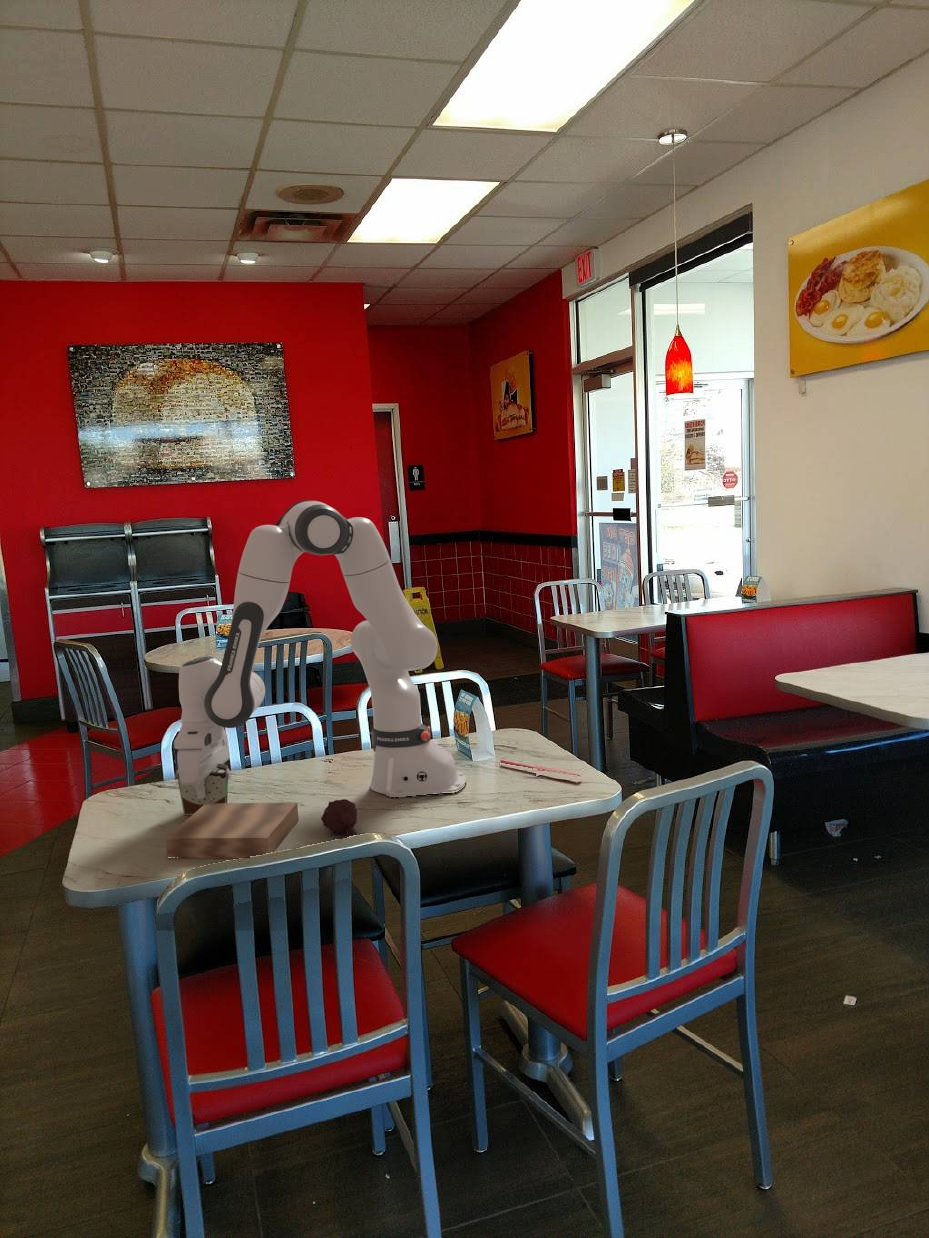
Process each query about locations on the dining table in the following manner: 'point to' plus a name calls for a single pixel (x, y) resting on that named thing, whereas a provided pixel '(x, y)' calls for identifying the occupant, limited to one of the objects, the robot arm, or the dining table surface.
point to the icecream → (340, 817)
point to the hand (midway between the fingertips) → (208, 792)
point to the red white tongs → (534, 767)
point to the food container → (215, 790)
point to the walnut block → (233, 830)
